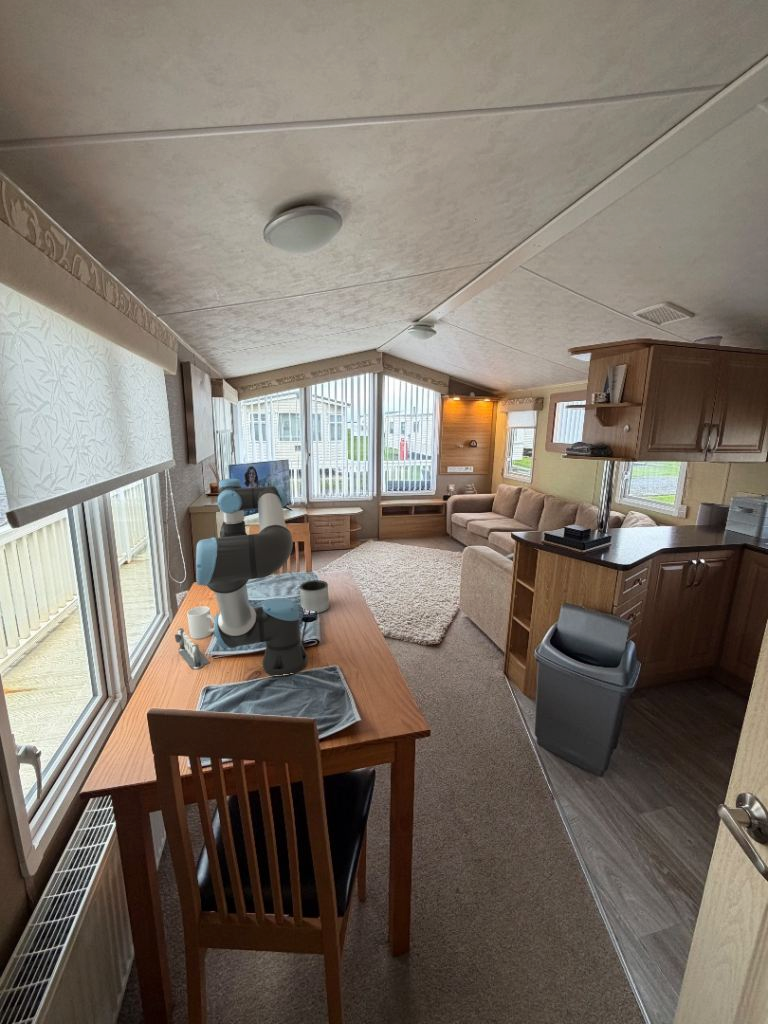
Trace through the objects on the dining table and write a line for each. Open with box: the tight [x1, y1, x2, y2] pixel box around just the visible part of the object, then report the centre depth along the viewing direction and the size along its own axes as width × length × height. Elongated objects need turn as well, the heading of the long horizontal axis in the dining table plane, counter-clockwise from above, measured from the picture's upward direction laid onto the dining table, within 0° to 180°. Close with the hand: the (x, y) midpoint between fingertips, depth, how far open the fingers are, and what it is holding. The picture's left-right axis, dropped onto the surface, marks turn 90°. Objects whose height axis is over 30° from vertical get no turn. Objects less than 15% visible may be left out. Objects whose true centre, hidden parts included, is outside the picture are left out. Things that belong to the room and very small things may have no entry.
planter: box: [299, 579, 330, 614], centre depth 189 cm, size 13×12×11 cm
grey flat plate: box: [178, 649, 211, 670], centre depth 153 cm, size 15×6×1 cm, turn 42°
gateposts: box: [174, 627, 204, 670], centre depth 152 cm, size 19×4×8 cm, turn 42°
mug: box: [186, 605, 215, 640], centre depth 168 cm, size 12×8×10 cm
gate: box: [183, 631, 196, 660], centre depth 153 cm, size 12×1×7 cm, turn 40°
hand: (240, 581), depth 159 cm, fingers closed
